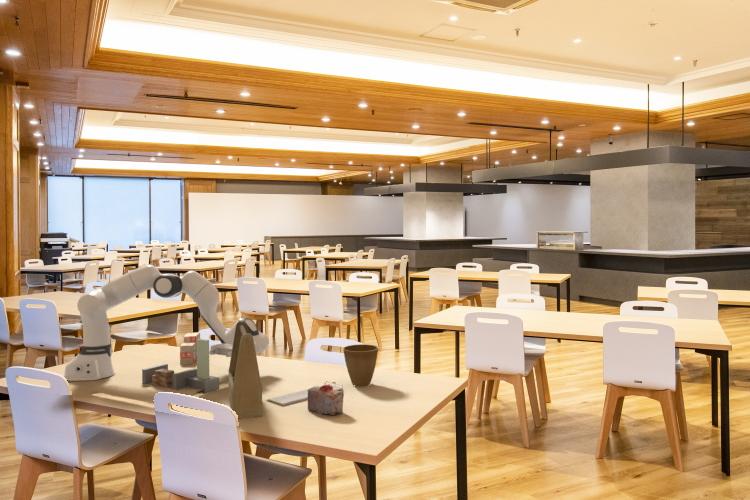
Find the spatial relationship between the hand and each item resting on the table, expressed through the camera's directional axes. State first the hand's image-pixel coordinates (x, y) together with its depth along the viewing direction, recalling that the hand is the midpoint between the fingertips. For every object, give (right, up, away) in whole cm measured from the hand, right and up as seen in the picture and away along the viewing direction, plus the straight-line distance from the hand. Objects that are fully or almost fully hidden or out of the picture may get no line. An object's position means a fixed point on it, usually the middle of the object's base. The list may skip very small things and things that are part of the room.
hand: (218, 353), depth 255 cm
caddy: (+17, -15, -30) cm, 37 cm away
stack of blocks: (-28, -12, +51) cm, 59 cm away
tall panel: (-5, -13, -7) cm, 15 cm away
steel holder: (-5, -14, -7) cm, 16 cm away
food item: (+48, -15, -37) cm, 63 cm away
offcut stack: (-22, -12, -5) cm, 25 cm away
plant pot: (+60, -14, +1) cm, 62 cm away
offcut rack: (-20, -13, -2) cm, 24 cm away
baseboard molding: (+38, -15, -14) cm, 43 cm away
